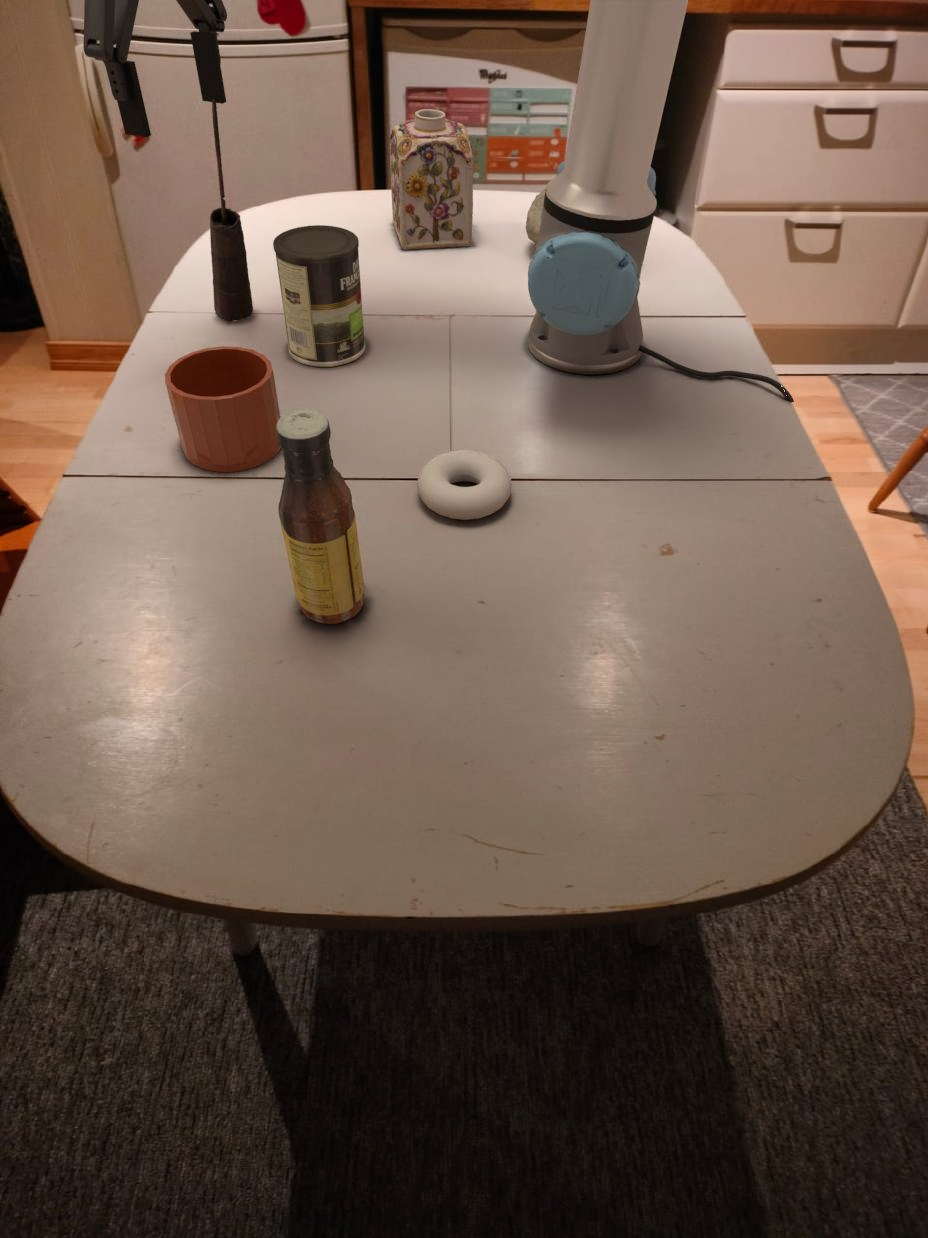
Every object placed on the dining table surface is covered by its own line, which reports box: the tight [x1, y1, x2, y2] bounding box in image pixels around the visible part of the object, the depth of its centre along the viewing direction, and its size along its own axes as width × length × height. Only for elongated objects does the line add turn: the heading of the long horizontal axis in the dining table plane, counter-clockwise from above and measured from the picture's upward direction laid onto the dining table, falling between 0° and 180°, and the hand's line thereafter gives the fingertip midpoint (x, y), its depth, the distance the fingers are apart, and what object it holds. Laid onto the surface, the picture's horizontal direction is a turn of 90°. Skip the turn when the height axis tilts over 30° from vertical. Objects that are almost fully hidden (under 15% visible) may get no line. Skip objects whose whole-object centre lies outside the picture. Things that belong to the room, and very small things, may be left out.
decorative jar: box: [389, 108, 474, 251], centre depth 134 cm, size 12×12×18 cm
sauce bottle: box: [276, 409, 365, 625], centre depth 71 cm, size 7×6×20 cm
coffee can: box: [272, 224, 367, 368], centre depth 108 cm, size 10×10×14 cm
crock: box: [164, 345, 282, 473], centre depth 93 cm, size 11×11×9 cm
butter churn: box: [209, 99, 254, 323], centre depth 106 cm, size 9×10×28 cm
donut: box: [416, 449, 513, 521], centre depth 89 cm, size 10×4×10 cm
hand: (178, 117), depth 92 cm, fingers open, 13 cm apart
